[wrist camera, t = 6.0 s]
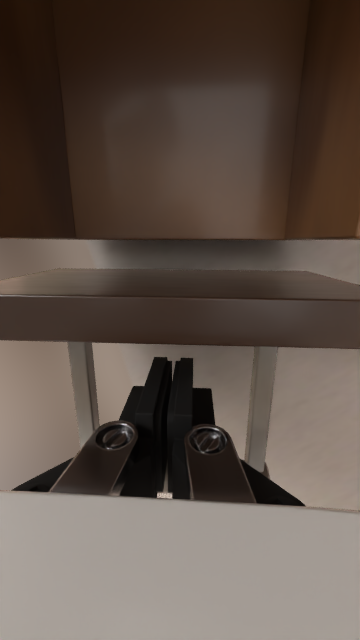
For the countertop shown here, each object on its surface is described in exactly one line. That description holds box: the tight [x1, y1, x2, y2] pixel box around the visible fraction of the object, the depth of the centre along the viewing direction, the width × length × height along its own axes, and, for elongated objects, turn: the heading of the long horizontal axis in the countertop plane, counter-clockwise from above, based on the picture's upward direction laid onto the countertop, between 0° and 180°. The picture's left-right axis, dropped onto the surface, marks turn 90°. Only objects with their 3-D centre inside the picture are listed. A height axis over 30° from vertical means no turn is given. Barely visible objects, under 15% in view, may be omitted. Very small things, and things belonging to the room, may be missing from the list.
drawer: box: [0, 0, 360, 494], centre depth 9 cm, size 18×11×6 cm, turn 0°
